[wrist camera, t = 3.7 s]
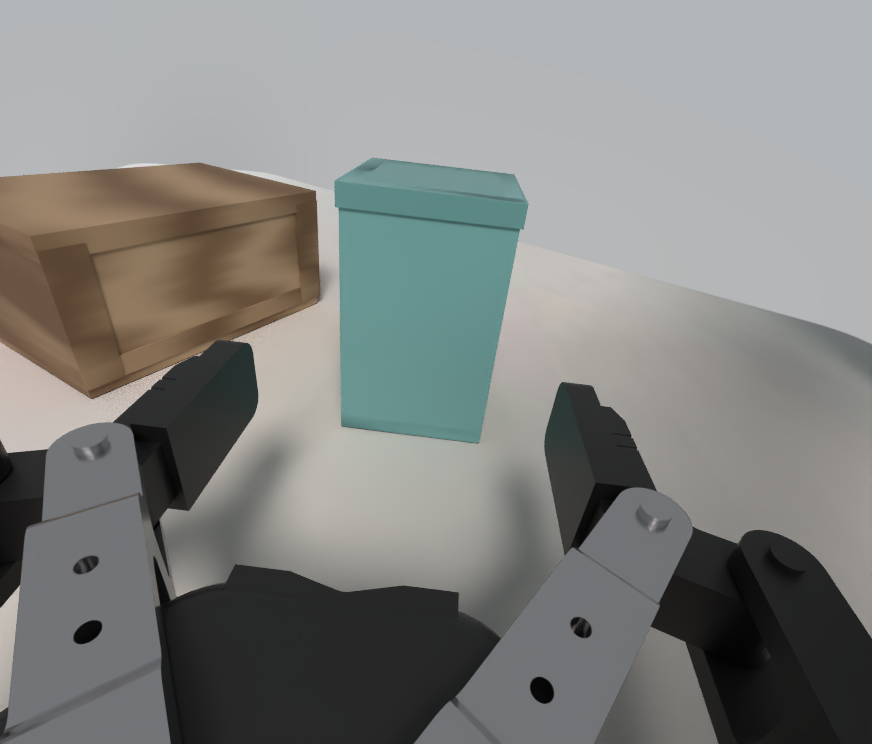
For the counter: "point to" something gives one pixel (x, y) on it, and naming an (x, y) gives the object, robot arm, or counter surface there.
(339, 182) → the teal lidded bin
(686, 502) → the counter surface
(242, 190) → the wooden crate
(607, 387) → the counter surface
